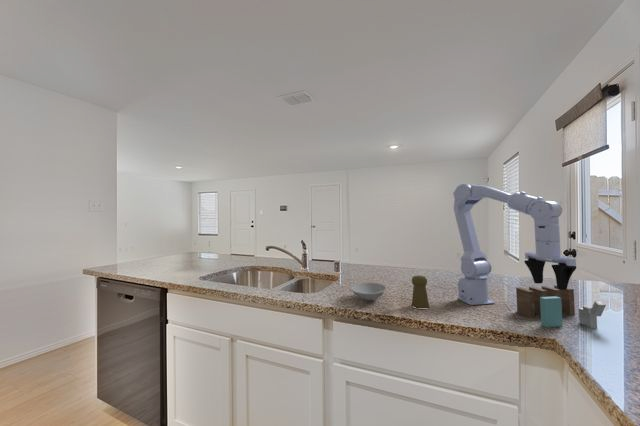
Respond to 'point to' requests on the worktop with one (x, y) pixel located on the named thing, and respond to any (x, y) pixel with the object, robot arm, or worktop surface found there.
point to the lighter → (591, 314)
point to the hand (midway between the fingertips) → (549, 286)
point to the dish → (368, 290)
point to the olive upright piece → (419, 292)
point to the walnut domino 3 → (552, 291)
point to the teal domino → (551, 311)
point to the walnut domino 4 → (567, 300)
